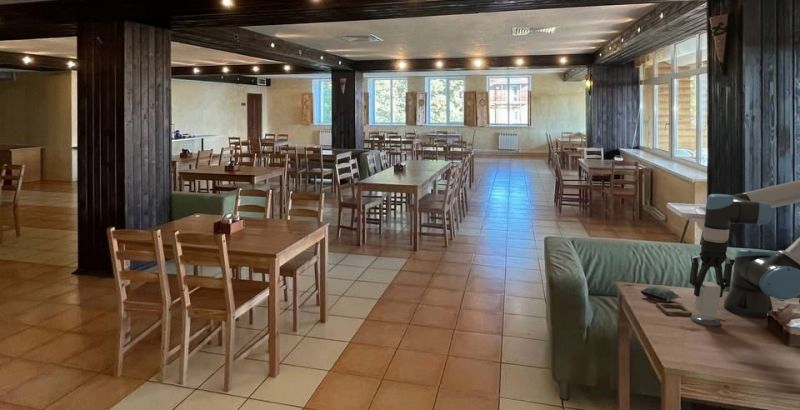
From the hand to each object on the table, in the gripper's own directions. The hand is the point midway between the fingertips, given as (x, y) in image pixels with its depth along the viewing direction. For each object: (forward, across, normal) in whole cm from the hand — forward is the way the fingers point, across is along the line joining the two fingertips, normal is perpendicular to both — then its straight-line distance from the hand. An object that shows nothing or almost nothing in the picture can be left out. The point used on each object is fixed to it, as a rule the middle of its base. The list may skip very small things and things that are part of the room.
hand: (706, 305), depth 184 cm
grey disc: (+6, 0, 0) cm, 6 cm away
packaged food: (+6, +7, -22) cm, 24 cm away
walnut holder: (+6, +7, -9) cm, 13 cm away
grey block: (+2, 0, 0) cm, 2 cm away
